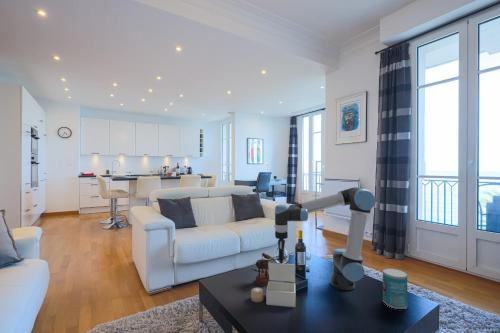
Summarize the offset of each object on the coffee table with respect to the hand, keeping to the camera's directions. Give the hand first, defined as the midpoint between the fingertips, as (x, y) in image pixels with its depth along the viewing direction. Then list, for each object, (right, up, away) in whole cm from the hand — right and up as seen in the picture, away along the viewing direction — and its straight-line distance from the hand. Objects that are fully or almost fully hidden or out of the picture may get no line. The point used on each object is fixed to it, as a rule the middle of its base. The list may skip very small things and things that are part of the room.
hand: (281, 270), depth 154 cm
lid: (0, -1, -1) cm, 2 cm away
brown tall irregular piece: (-11, -16, +18) cm, 26 cm away
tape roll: (-15, -16, -4) cm, 22 cm away
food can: (+62, -15, -10) cm, 65 cm away
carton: (-1, -16, -5) cm, 16 cm away
